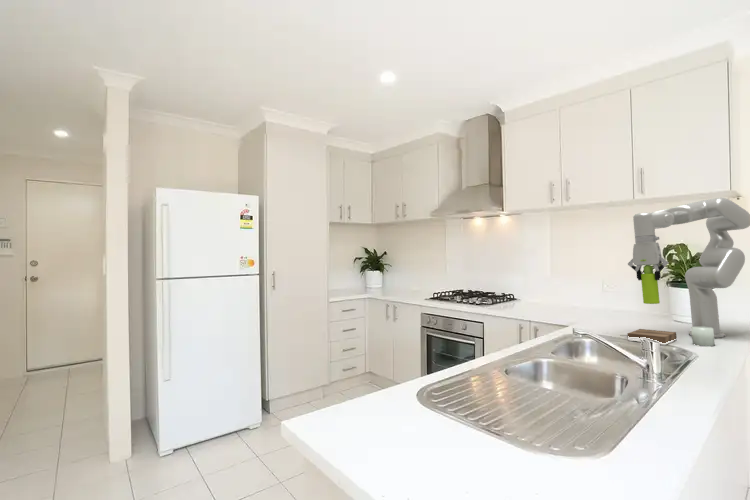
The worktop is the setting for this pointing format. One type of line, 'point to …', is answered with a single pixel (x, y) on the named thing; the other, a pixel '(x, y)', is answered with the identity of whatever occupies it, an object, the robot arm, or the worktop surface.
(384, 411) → the worktop surface
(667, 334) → the walnut plinth
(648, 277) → the soap dispenser
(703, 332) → the pale green rounded block
